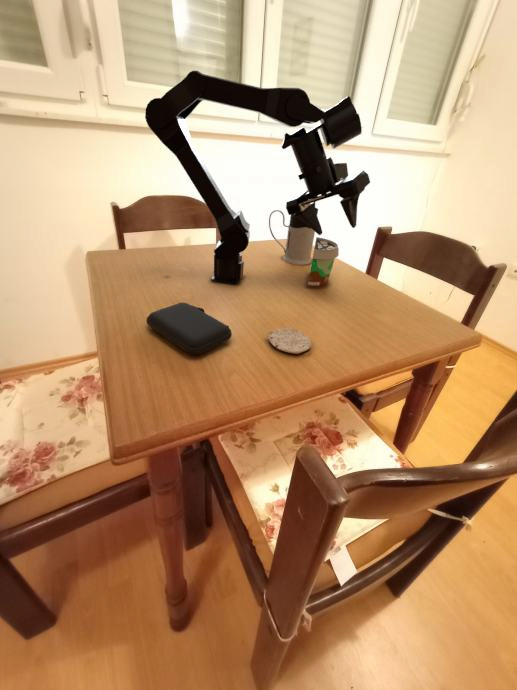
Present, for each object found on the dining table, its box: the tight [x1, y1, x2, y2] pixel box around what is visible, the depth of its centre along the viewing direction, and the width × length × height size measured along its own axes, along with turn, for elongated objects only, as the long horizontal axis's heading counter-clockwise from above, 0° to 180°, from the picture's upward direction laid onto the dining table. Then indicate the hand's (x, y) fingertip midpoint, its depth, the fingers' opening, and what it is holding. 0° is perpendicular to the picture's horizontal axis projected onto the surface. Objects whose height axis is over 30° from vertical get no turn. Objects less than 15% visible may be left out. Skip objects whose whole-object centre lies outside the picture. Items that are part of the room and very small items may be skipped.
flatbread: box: [267, 327, 312, 355], centre depth 56 cm, size 8×8×1 cm
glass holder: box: [268, 207, 319, 266], centre depth 92 cm, size 9×14×15 cm, turn 89°
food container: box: [306, 236, 339, 289], centre depth 79 cm, size 12×6×10 cm, turn 168°
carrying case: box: [146, 302, 233, 356], centre depth 56 cm, size 11×3×15 cm
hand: (336, 230), depth 72 cm, fingers open, 9 cm apart
